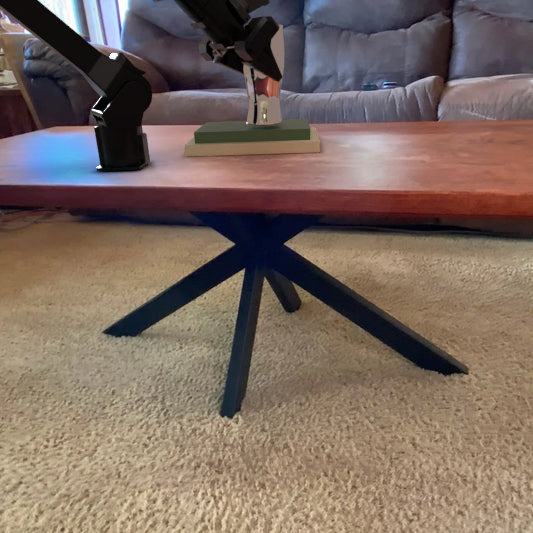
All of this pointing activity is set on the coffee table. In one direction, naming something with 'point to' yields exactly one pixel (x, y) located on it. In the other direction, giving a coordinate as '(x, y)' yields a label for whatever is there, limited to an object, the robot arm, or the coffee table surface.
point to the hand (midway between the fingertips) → (269, 79)
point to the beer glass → (265, 88)
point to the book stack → (253, 138)
